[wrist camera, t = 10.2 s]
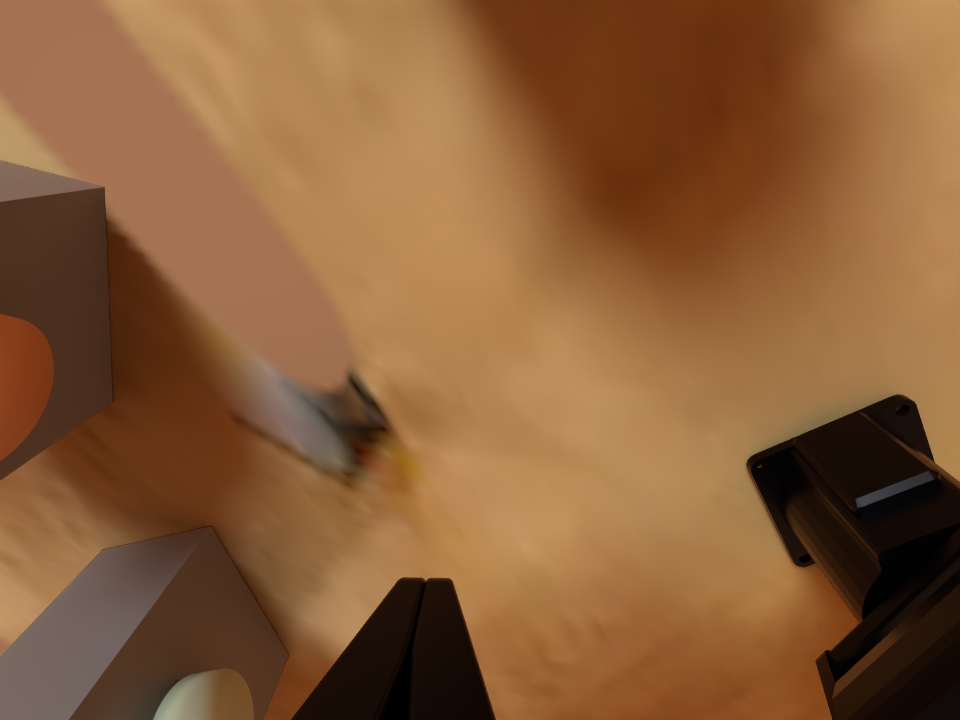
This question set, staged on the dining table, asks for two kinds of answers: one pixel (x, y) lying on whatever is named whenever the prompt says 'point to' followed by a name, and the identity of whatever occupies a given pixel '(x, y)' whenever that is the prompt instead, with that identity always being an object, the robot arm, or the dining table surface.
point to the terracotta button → (22, 380)
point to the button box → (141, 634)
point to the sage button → (208, 698)
